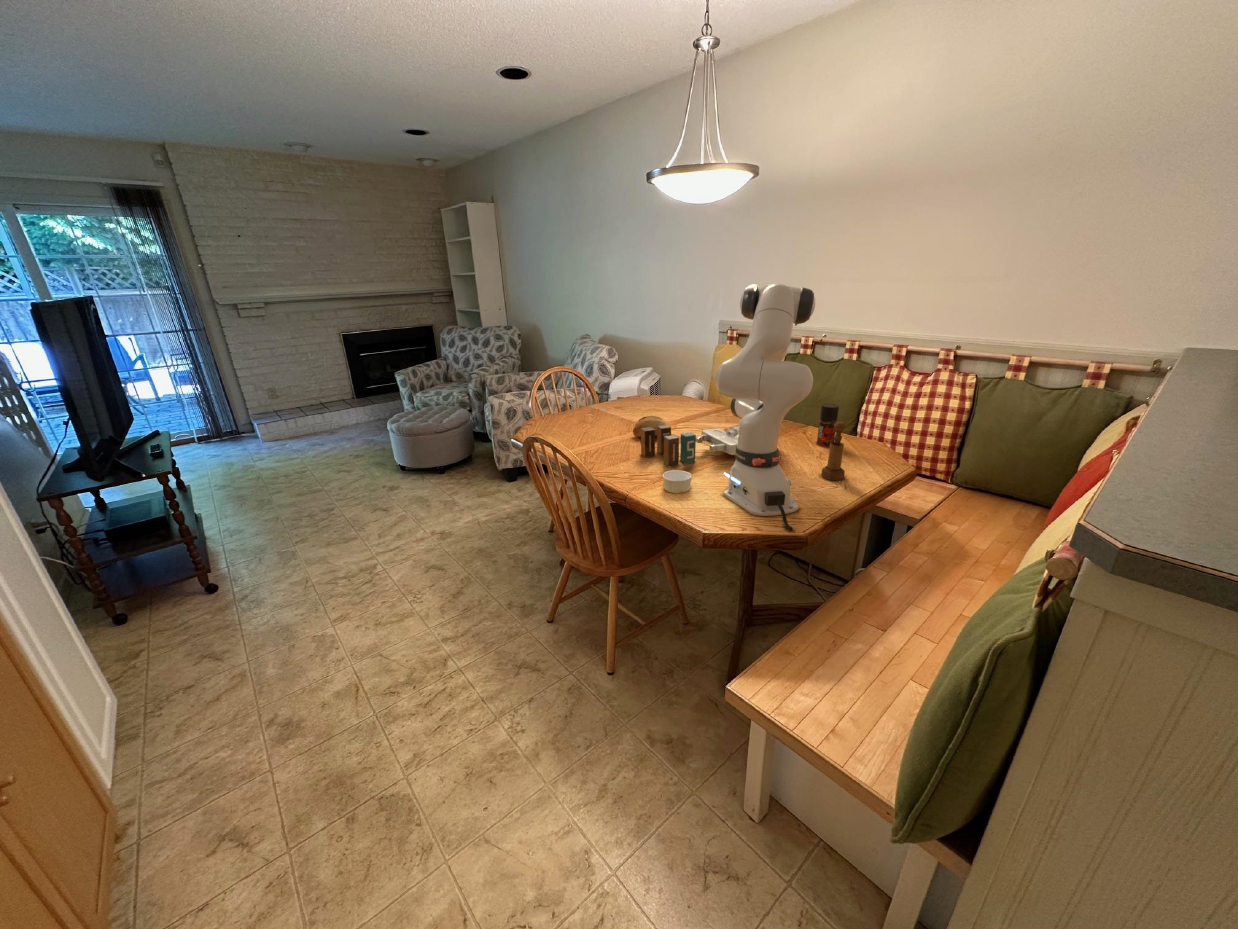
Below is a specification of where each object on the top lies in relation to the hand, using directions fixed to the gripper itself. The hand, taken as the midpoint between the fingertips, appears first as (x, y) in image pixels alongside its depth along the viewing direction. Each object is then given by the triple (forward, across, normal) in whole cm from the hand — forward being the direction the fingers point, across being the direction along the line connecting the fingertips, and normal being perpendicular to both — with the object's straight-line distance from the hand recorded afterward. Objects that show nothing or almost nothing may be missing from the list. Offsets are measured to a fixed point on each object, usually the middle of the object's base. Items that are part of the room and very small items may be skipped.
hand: (703, 444), depth 168 cm
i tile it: (+16, -12, +6) cm, 21 cm away
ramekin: (+20, +18, +6) cm, 28 cm away
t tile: (+9, -12, +6) cm, 16 cm away
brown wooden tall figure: (-28, +32, +6) cm, 43 cm away
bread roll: (+5, -32, +6) cm, 33 cm away
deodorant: (-49, +7, +6) cm, 50 cm away
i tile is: (+13, 0, +6) cm, 14 cm away
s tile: (+6, 0, +6) cm, 8 cm away
